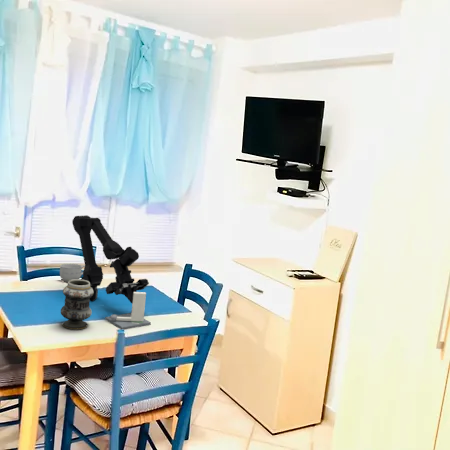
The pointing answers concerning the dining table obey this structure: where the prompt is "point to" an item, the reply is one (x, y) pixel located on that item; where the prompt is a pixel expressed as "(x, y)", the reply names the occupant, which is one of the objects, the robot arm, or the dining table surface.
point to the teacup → (70, 271)
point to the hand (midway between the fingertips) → (133, 304)
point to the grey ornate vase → (77, 304)
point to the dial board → (127, 322)
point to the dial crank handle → (134, 308)
